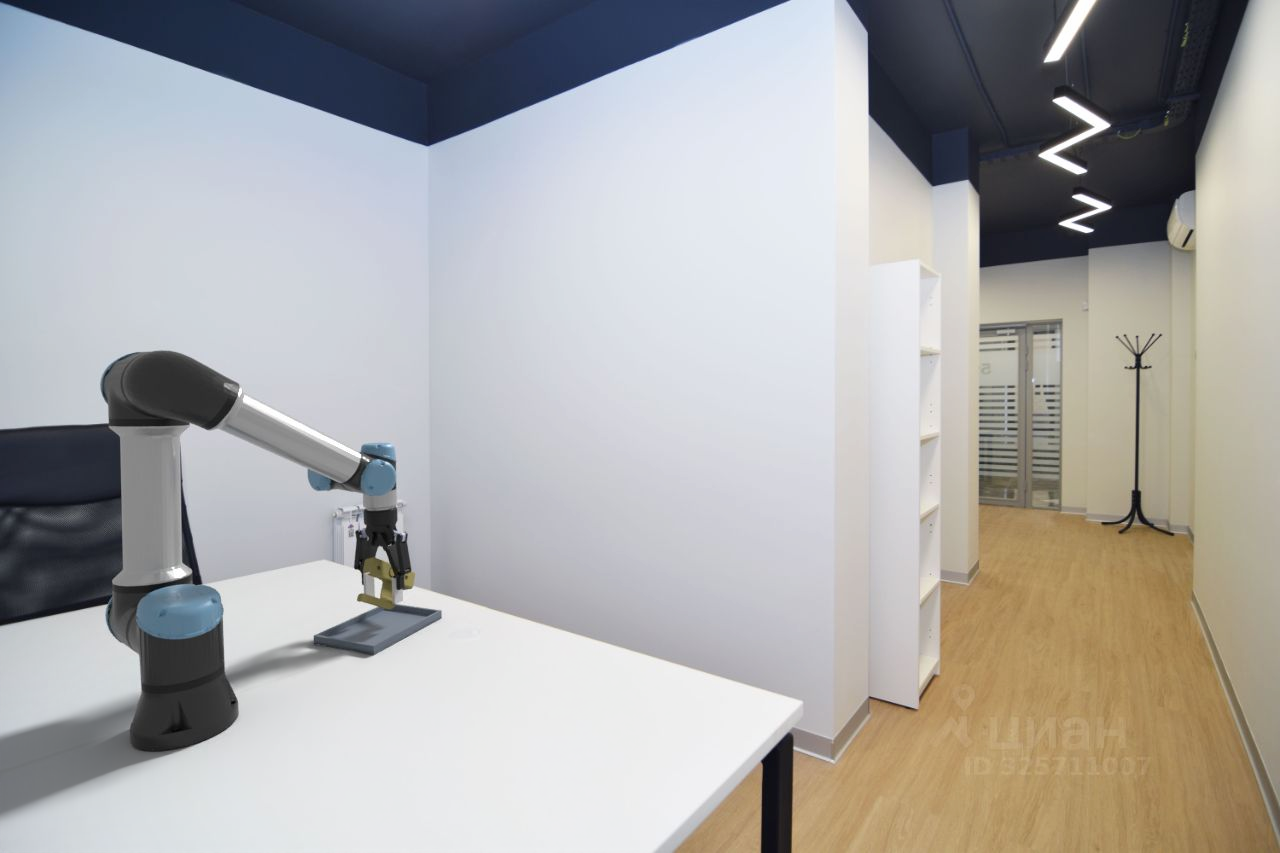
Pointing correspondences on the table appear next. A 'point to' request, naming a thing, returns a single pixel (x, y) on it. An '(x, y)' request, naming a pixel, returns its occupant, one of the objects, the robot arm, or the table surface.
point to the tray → (377, 628)
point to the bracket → (383, 582)
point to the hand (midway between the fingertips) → (383, 600)
